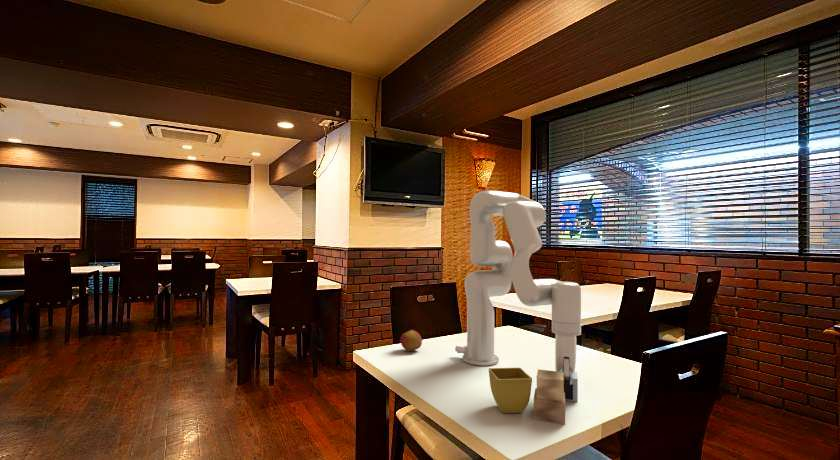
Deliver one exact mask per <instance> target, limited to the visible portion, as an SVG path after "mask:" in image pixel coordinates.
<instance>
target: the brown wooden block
mask: <svg viewBox="0 0 840 460" xmlns="http://www.w3.org/2000/svg"><path fill="white" fill-rule="evenodd" d="M533 420H534V421H541V422H546V423H553V424H554V423H555V424H559V425H566V400H565V392H564V402H559V401H552V400H545V399H538V398H537V387H535V389H534V395H533Z"/></svg>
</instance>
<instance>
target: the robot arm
mask: <svg viewBox="0 0 840 460" xmlns="http://www.w3.org/2000/svg"><path fill="white" fill-rule="evenodd" d="M469 203H470V204H469V219H470V241H469V242H470V244H469V245H470V246H469V247H470V249H469V258H470V262H471V264H473V266H476V267H484V268H488V267H491V270H490V269H486V270H485V269H484V270H483V269H482V270H473V271H471V272H469V273H468V274H467V275H466V276H465V279H464V281H463V282H464V283H463V284H464V290H465V296H466V297H465V298H466V345H465V346H459V345H455V350H454V351H455V352H456V353H458V354H463V355H462V361H463V362H465V363H466V364H468V365H469V364H470V365H473V366H481V367H482V366H483V367H485V366H486V367H487V366H493V365H496V364H498V363H499V357H498V356H497V355H495V308H494V305H493V303H492V301H491V299H490V298H491V297H492V298H493V297H494V298H495V297H504V296H506V295H507V294H508V293H509V291H511V287H512V285H513V288H514V291H515V293H516V296H517V297H518V299H519V301H520V302H521V304H523V305H525V306H527V307H539V306H550V305H551V333H553V334H555V340H554V341H555V342H554V343H555V345H554V350H555V351H554V353H555V354H554V356H555V357H554V361H555V362H554V363H555V364H554V366H555V367H554V369H555V371H557V372H558V371H561V372H563V374H564V375H563V378H564V392H565V399H570V400H572V399H573V384H572V373H574V372H575V371H576V361H577V360H576V359H577V336H581V335H582V289H581V285H580V284H579V283H577V282H572V281H561V280H558V279H555V278H537V279H535V278H534V279H533V275H532V272H531V270H530V258H531V256H532V254H534V253H536V252H538V251H539V250H540V249H541V248H542V247H543V241H542V238H541V235H540V233H539V231H538V228H540V227H541V226H542V225H544V224H545V221H546V219H547V216H546V215H547V214H546V210H545V208H544V206H543V205H542V204H541V203H540V202H537V201H536V200H533V199H530V198H528V197H526V196H524V195H522V194H519V193H517V192H509V191H501V190H500V191H499V190H488V189H487V190H481V191H479V192H476V193H475V195H474V196H473V197H472V199H471V201H470V202H469ZM491 216H492V217H494V216H496V217H503V220H504V222H505V226H506V229H507V231H508V234H509V237H510V241H511V243H512V246H513V248H514V255H513V250H512V248H511V246H510V244H509V243H508V242H506V241H505V240H501V239H496V227H495V226H496V225H495V223H494V221H493V219H492V218H491ZM569 374H570V376H569Z"/></svg>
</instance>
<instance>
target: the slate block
mask: <svg viewBox="0 0 840 460" xmlns="http://www.w3.org/2000/svg"><path fill="white" fill-rule="evenodd" d="M558 372H561V370H560V371H558ZM563 375H564V374H563ZM569 376H570V374H569ZM578 378H579V377H578V372H574V373H572V384H573V399H572V400H570V399H565V401H569V402H578V400H579V399H578V398H579V397H578V393H579V392H578V382H579V381H578Z"/></svg>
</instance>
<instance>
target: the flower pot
mask: <svg viewBox="0 0 840 460" xmlns="http://www.w3.org/2000/svg"><path fill="white" fill-rule="evenodd" d="M488 376H489V384H490V385H489V386H490V390H491V393H492V396H493V400H494V402H495V403H496V405H497V407H498V408H499V410H500V411H501V412H502V414H511V413H512V414H513V413H517V414H519V413H520V414H521V413H523V412H524V411H525V409H526V408H527V406H528V405H529V403H530V399H531V393H532V383H533V377H532V376H530V375H529V374H528V373H526V371H524V369H523V368H521V367H492V368H488Z"/></svg>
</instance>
